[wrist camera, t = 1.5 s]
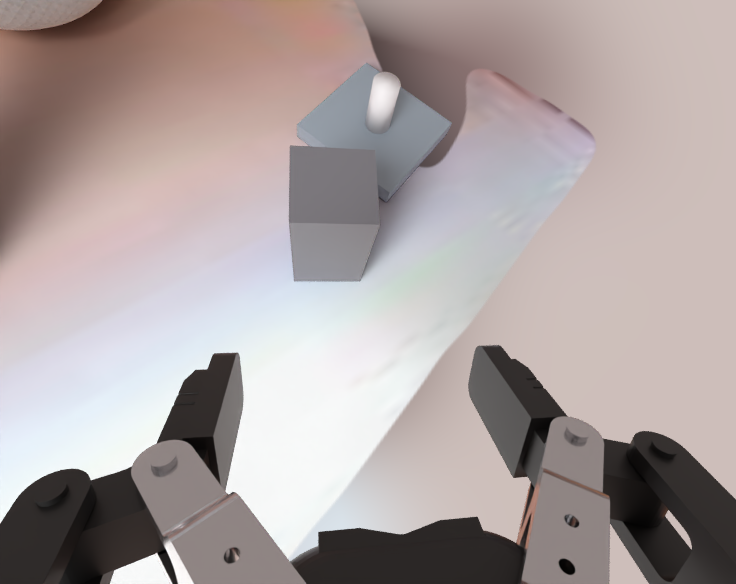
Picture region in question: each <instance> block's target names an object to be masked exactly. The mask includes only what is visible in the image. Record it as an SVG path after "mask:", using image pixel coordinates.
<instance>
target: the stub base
mask: <svg viewBox="0 0 736 584" xmlns="http://www.w3.org/2000/svg"><path fill="white" fill-rule="evenodd" d="M400 86H401V83H400V80H399V79H398V77H397V76H395V75H394V74H392V73H389V72H379V71H378V70H376V69H375V68H373V67H372V66H371V65H369V64H368V63H366V64H364V65H363V66H362V67H361V68H360V69H359V70H358V71H357V72H355V73H354V74H353V75H352V76H351V77H350V78H349V79H348V80H346V81H345V82H344V83H343V84H342V85H341V86H340V87H339V88H338V89H336V90H335V91H334V92H333V93H332V94H331V95H330V96H329V97H327V98H326V99H325V100H324V101H323V102H322V103H321V104H320V105H318V106H317V107H316V108H315V109H314V110H313V111H312V112H311V113H310V114H308V115H307V116H306V117H305V118H304V119H303V120H302V121H301V122H299V123H298V124H297V137H299V138H300V139H301V140H303V141H304V142H305V143H307V144H308V145H309V146H311V147H328V148H347V149H367V150H375V155H376V169H377V184H378V197H380V198H381V199H382V200H384V201H385V202H387V201H388V200H389V199H390V198H391V197H392V195H393V194H394V193H395V192H396V191H397V190H398V189H399V188H400V186H401V185H402V184H403V183H404V182H405V181H406V180H407V179H408V177H409V176H410V175H411V174H412V173H413V172H414V171H415V170H416V168H417V167H418V166H419V165H420V164H421V163H422V162H423V161H424V159H425V158H426V157H427V156H428V155H429V154H430V152H432V150H433V149H434V148H435V147H436V146H437V145H438V144H439V142H440V141H441V140H442V139H443V138H444V137H445V136H446V135H447V133H448V130H449V129H450V127H451V124H452V123H451V122H450V121H449V120H447V119H446V118H444V117H443V116H441V115H440V114H439V113H437V112H436V111H434V110H433V109H431V108H430V107H429V106H427V105H426V104H424V103H423V102H422V101H420V100H419V99H417V98H416V97H414V96H413V95H412V94H410V93H409V92H407V91H406V90H405V89H403V88H402V87H400Z"/></svg>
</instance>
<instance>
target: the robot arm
mask: <svg viewBox="0 0 736 584" xmlns="http://www.w3.org/2000/svg"><path fill="white" fill-rule="evenodd" d="M468 385H469V394H470V398H471V400H472V402H473V404H474V406H475V407H476V409H477V411H478V413H479V415H480V417H481V419H482V421H483V422H484V424H485V426H486V428H487V430H488V432H489V434H490V435H491V437H492V439H493V441H494V443H495V445H496V446H497V448H498V450H499V452H500V454H501V456H502V458H503V460H504V461H505V463H506V465H507V467H508V469H509V471H510V473H511V475H512V476H513V478H517V477H528V478H529V480H530V481H531V484H530V487H529V489H528V494H527V498H526V503H525V507H524V511H523V516H522V520H521V524H520V529H519V533H518V538H517V542H516V543H515V542H513V541H511V540H509V539H507V538H505V537H502V536H500V535H498V534H494V533H491V532H488V531H483V529H482V527H481V524H480V522H479V519H478V517H470V518H459V519H449V520H440V521H437V522H435V523H432V524H429V525H427V526H425V527H422V528H420V529H417V530H414V531H412V532H409V533H407V534H401V535H400V534H393V533H387V532H380V531H374V530H368V529H361V528H356V529H345V530H335V531H324V532H319V533H318V537H319V540H318V543H319V545H318V547H315V548H312V549H310V550H308V551H306V552H304V553H302V554H300V555H299V556H298V557H296V558H295V559H293V560H292V561H290V562H289V560H288V559H287V558H286V556H285V555H284V554H283V552H282V551H281V550H280V548H279V547H278V546H277V544H276V543H275V542H274V540H273V539H272V538H271V537H270V535H269V534H268V533H267V531H266V530H265V529H264V527H263V526H262V525H261V523H260V522H259V521H258V519H257V518H256V517H255V516H254V514H253V513H252V512H251V510H250V509H249V508H248V506H247V505H246V504H245V502H244V501H243V500H242V499H241V497H240V496H239V495H238V494H237V493H235V492H232V493H231V494H229V495H228V494H227V493H226V492H225V490H226V485H227V480H228V476H229V471H230V466H231V461H232V457H233V452H234V447H235V442H236V438H237V433H238V428H239V424H240V419H241V414H242V409H243V385H242V375H241V366H240V357H239V354H238V353H214V354H213V356H212V359H211V361H210V364H209V367H208V369H207V370H195V371H194V372H193V373H192V374H191V375H190V376H189V377H188V378H187V379H185V380H184V382H183V384H182V387H181V389H180V391H179V395H178V396H177V398H176V400H175V403H174V406H173V407H172V409H171V412H170V414H169V416H168V418H167V421H166V423H165V425H164V428H163V430H162V432H161V434H160V437H159V439H158V441H157V444H155V445H153V446H151V447H149V448H148V449H146V450H145V451H144V452H142V453H141V454H140V455H139V456H138V457H137V459H136V460H135V462H134V463H133V466H132V467H130V468H128V469H126V470H123V471H120V472H117V473H114V474H111V475H107V476H104V477H101V478H98V479H94V480H90V477H89V475H88V474H87V473H86V472H84V471H82V470H79V469H65V470H60V471H57V472H54V473H51V474H48V475H46V476H44V477H42V478H40V479H39V480H37V481H35V482H34V483H32V484H31V485H30V486H29V487H27V488H26V489H25V490H24V491H23V492H22V493H21V494H20V495H19V496H18V498H17V499H16V501H15V502H14V504H13V505H12V507H11V508H10V510H9V511H8V513H7V514H6V516H5V517H4V519H3V520H2V522H1V523H0V584H110V581H111V578H112V575H113V572H114V570H116V569H118V568H121V567H123V566H126V565H128V564H131V563H133V562H136V561H138V560H141V559H143V558H146V557H148V556H151V555H153V554H155V555H156V557H157V559H158V561H159V563H160V565H161V567H162V569H163V571H164V573H165V575H166V577H167V579H168V581H169V583H170V584H609V554H610V553H609V552H610V548H609V547H610V524H611V525H612V527H613V528H614V530H615V531H616V533H617V535H618V536H619V538H620V539H621V541H622V542H623V544H624V546H625V547H626V549H627V550H628V552H629V553H630V555H631V556H632V558H633V559H634V561H635V563H636V564H637V565H638V567H639V569H640V570H641V572H642V573H643V575H644V576H645V578H646V580H647V581H648V583H649V584H736V499H735V498H734V497H733V496H732V495H730V493H728V491H727V490H726V489H725V488H724V487H722V485H721V484H720V483H718V481H717V480H716V479H714V477H713V476H712V475H711V474H710V473H709V472H708V471H707V470H706V469H704V467H703V466H702V465H701V464H700V463H699V462H698V461H697V460H696V459H695V458H694V457H693V456H692V455H691V454H690V453H689V452H688V451H687V450H686V449H685V448H683V447H682V446H681V445H680V444H678V443H677V442H675V441H674V440H672V439H670V438H668V437H666V436H664V435H661V434H658V433H654V432H649V431H642V432H638V433H636V434H635V435H634V437H633V440H632V441H631V444H628V443H623V442H618V441H612V440H607V439H603V438H602V437H601V435H600V434H599V432H598V431H597V430H596V429H594V428H593V427H592V426H591V425H589V424H587V423H586V422H583V421H581V420H579V419H576V418H572V417H568V416H567V415H566V414H565V413H564V411H562V409H561V408H560V407H559V405H558V404H557V403H556V402H555V400H554V399H553V398H552V397H551V395H550V394H549V393H548V392H547V390H546V389H544V388H543V386H542V384H541V383H540V382H539V381H538V380H536V377H535V376H534V374H533V373H532V372H531V371H530V370H529V368H528V367H526V366H525V365H523V364H522V363H520V362H519V361H517V360H516V359H511V358H510V357H509V356H508V354H507V353H506V352H505V351H504V349H503V348H502V347H501V346H499V345H493V346H478V347H477V348H476V350H475V354H474V359H473V363H472V368H471V373H470V378H469V384H468ZM668 510H669V511H670V512H671V513H672V514H673V516H674V517H675V518H676V519H677V520H678V522H679V523H680V524H681V525H682V527H683V528H684V529H685V531H686V532H687V534H688V535H689V537H690V540H691V544H692V550H691V549H690V548H689V546H688V545H687V544H686V543H685V541H684V540H683V539H682V538H681V536H680V535H679V534H678V532H677V531H676V530H675V529H674V527H673V526H672V525H671V524H670V522H669V521H668V520H667V518H666V517H665V515H666V513H667V511H668Z"/></svg>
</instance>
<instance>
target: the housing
mask: <svg viewBox="0 0 736 584" xmlns="http://www.w3.org/2000/svg"><path fill="white" fill-rule="evenodd" d="M379 227H380V212H379V198H378V184H377V169H376V155H375V150H367V149H347V148H328V147H309V146H290V182H289V228H290V239H291V251H292V262H293V274H294V281H360V280H361V277H362V274H363V271H364V268H365V266H366V263H367V260H368V257H369V255H370V252H371V249H372V246H373V244H374V241H375V238H376V235H377V233H378V230H379Z"/></svg>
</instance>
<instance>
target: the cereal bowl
mask: <svg viewBox="0 0 736 584" xmlns="http://www.w3.org/2000/svg"><path fill="white" fill-rule="evenodd" d="M101 1H103V0H0V29H3V30H15V31H17V30H27V31H28V30H36V29H40V30H41V29H43V28H49V27H54V26H58V25H63V24H67V23H68V22H72V21H73V20H76V19H77V18H80V17H82V16H84V15H85V14H86V13H89V12H90V11H91V10H92V9H94V8H95V7H97V5H98V4H100V3H101Z"/></svg>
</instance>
